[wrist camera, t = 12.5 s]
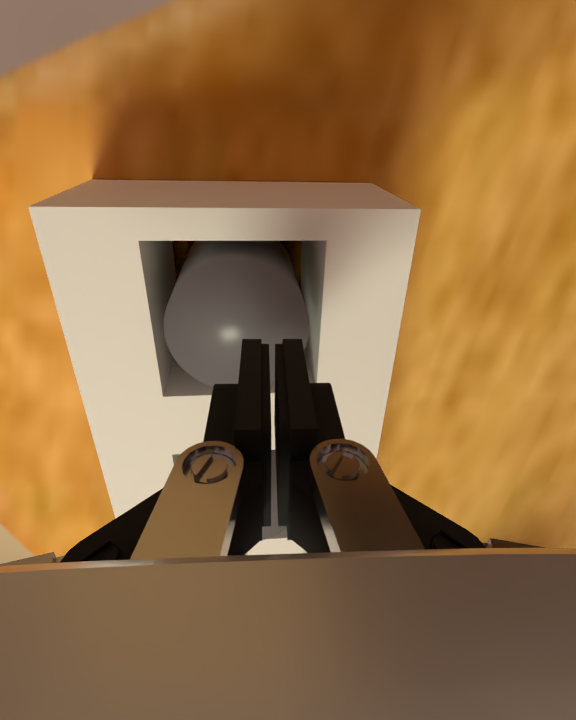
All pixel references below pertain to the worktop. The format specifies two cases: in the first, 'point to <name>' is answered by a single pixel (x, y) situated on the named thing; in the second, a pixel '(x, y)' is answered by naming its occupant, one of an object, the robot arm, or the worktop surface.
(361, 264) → the button panel
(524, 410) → the worktop surface
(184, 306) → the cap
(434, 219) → the worktop surface
